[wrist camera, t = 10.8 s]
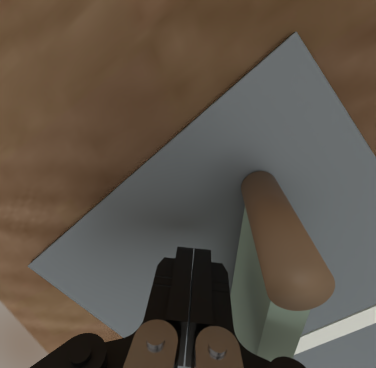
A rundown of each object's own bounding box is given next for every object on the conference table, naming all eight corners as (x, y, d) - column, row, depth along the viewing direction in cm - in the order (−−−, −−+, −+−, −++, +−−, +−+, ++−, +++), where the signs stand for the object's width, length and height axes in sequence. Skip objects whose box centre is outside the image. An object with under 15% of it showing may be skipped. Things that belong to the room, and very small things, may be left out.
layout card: (31, 261, 17) (26, 267, 16) (293, 33, 10) (297, 31, 10) (250, 427, 24) (251, 434, 23) (496, 352, 17) (504, 360, 16)
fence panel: (238, 367, 19) (250, 499, 13) (214, 365, 19) (216, 494, 13) (280, 172, 12) (344, 266, 6) (243, 169, 12) (273, 259, 7)
